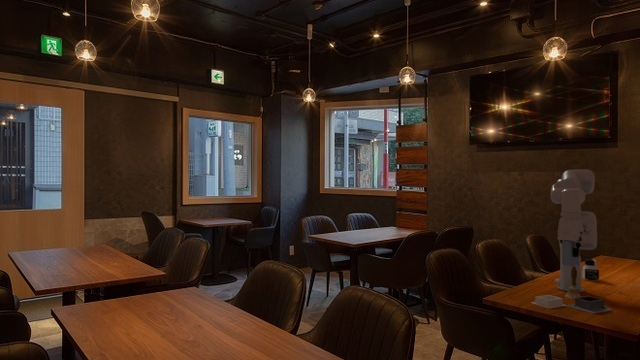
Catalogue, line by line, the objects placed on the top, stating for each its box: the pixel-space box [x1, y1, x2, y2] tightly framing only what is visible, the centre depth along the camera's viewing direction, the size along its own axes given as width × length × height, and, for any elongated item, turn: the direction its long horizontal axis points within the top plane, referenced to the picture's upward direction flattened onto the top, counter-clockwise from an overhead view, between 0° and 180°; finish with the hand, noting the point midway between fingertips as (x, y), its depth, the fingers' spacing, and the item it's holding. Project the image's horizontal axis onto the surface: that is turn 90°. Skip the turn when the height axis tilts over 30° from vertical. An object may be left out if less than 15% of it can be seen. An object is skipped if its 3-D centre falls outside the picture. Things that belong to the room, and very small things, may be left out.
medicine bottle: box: [582, 258, 600, 282], centre depth 253 cm, size 7×7×12 cm
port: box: [567, 295, 612, 314], centre depth 193 cm, size 12×12×5 cm
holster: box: [530, 294, 568, 309], centre depth 200 cm, size 10×12×4 cm
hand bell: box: [564, 267, 582, 300], centre depth 212 cm, size 8×8×16 cm
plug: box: [562, 240, 581, 266], centre depth 196 cm, size 4×6×12 cm, turn 111°
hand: (570, 255), depth 196 cm, fingers closed on plug, 4 cm apart
